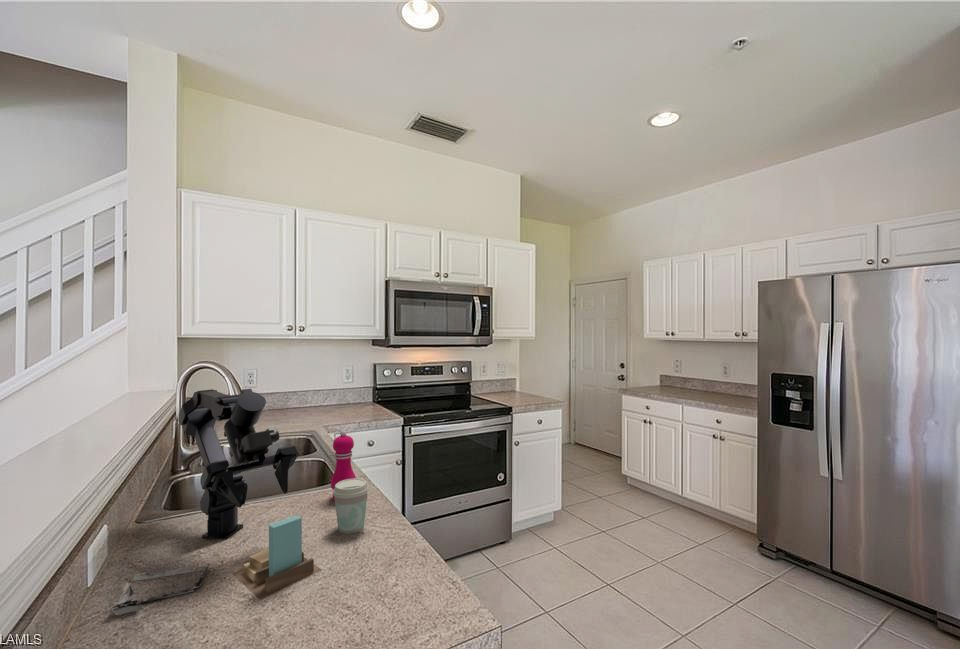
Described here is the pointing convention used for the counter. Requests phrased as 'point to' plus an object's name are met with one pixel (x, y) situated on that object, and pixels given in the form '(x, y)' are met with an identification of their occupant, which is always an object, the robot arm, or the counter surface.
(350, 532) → the coffee cup
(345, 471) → the pepper mill
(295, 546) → the turquoise upright pillar
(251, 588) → the walnut rack
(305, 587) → the counter surface
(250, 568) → the offcut stack
